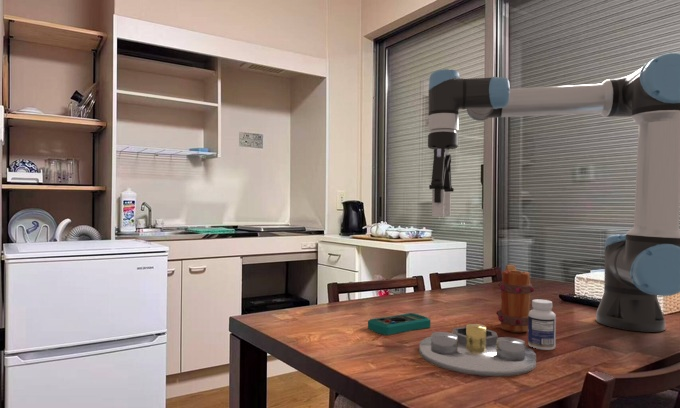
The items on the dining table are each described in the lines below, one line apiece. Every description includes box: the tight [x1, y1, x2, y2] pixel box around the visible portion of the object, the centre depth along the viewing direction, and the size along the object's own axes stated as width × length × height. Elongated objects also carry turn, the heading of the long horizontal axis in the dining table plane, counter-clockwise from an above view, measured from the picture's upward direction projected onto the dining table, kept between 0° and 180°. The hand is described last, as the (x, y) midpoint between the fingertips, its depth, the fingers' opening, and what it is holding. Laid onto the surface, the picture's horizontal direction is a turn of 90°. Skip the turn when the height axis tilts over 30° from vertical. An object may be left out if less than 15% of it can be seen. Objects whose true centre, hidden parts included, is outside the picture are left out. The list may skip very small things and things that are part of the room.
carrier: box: [418, 323, 537, 377], centre depth 92 cm, size 22×22×6 cm
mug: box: [495, 264, 535, 334], centre depth 115 cm, size 15×8×15 cm, turn 168°
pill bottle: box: [527, 298, 557, 351], centre depth 100 cm, size 5×5×10 cm
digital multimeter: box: [367, 312, 431, 336], centre depth 113 cm, size 7×15×3 cm, turn 124°
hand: (441, 216), depth 118 cm, fingers open, 13 cm apart
